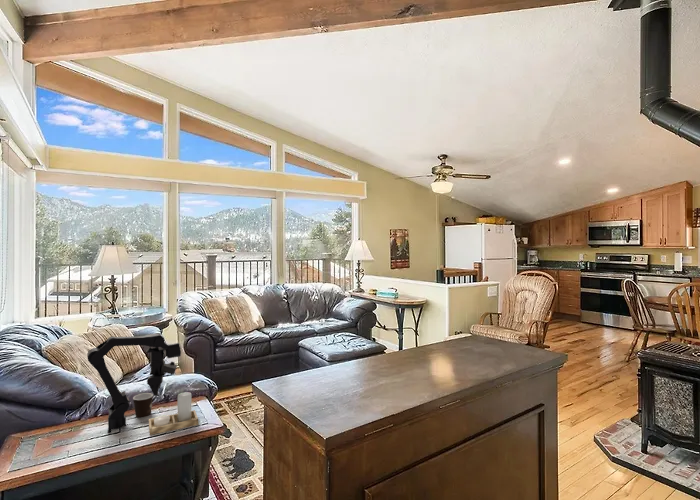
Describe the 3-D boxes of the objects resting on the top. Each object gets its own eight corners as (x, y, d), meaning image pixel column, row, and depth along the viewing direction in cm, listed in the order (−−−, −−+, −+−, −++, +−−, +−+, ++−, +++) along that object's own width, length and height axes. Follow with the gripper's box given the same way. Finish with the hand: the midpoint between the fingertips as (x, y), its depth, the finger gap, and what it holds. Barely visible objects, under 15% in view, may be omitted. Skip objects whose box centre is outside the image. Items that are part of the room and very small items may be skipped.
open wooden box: (149, 437, 170) (149, 429, 170) (148, 427, 179) (148, 419, 179) (198, 427, 179) (198, 419, 179) (195, 417, 189) (194, 410, 189)
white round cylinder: (154, 431, 173) (154, 422, 172) (153, 425, 178) (153, 417, 178) (170, 428, 176) (170, 419, 176) (169, 422, 181) (169, 414, 181)
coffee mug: (144, 421, 185) (144, 400, 185) (129, 419, 187) (128, 399, 186) (161, 411, 196) (161, 391, 196) (146, 409, 198) (146, 390, 198)
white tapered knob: (178, 426, 177) (178, 398, 177) (176, 421, 183) (176, 393, 182) (192, 423, 180) (192, 395, 180) (190, 418, 186) (190, 391, 185)
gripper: (173, 364, 181) (173, 397, 181) (177, 353, 199) (177, 383, 199) (146, 366, 177) (147, 400, 178) (152, 355, 195) (153, 386, 195)
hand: (157, 392), depth 187 cm, fingers open, 9 cm apart
